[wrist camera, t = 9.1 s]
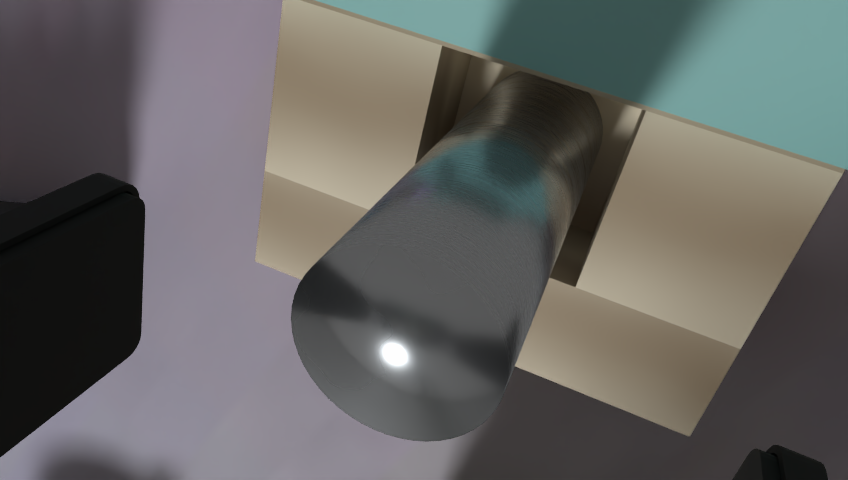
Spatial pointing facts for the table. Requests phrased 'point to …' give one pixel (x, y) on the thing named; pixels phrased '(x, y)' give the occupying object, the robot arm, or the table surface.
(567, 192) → the steel pin
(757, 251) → the block
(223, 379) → the table surface
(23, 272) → the robot arm
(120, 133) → the table surface
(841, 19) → the teal square plate
